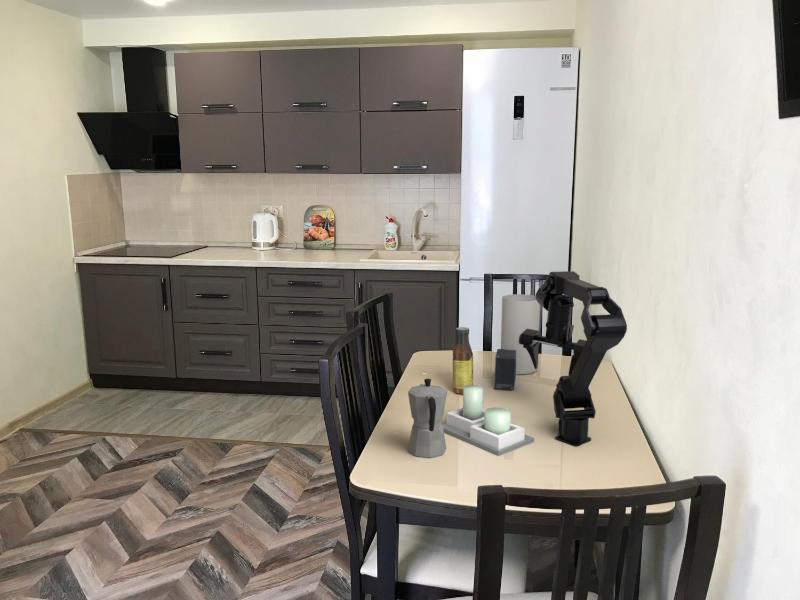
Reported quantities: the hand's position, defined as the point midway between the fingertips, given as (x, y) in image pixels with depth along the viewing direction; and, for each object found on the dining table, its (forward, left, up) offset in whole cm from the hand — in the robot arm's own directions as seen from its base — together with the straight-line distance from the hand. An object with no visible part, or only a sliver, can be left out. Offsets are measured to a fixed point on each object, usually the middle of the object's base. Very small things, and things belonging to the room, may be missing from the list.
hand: (552, 372), depth 175 cm
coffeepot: (+5, +40, -13) cm, 43 cm away
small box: (+27, -13, -13) cm, 33 cm away
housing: (+3, +22, -13) cm, 26 cm away
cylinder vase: (+35, -29, -13) cm, 47 cm away
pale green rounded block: (+9, +21, -12) cm, 26 cm away
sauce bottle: (+31, +2, -13) cm, 34 cm away
